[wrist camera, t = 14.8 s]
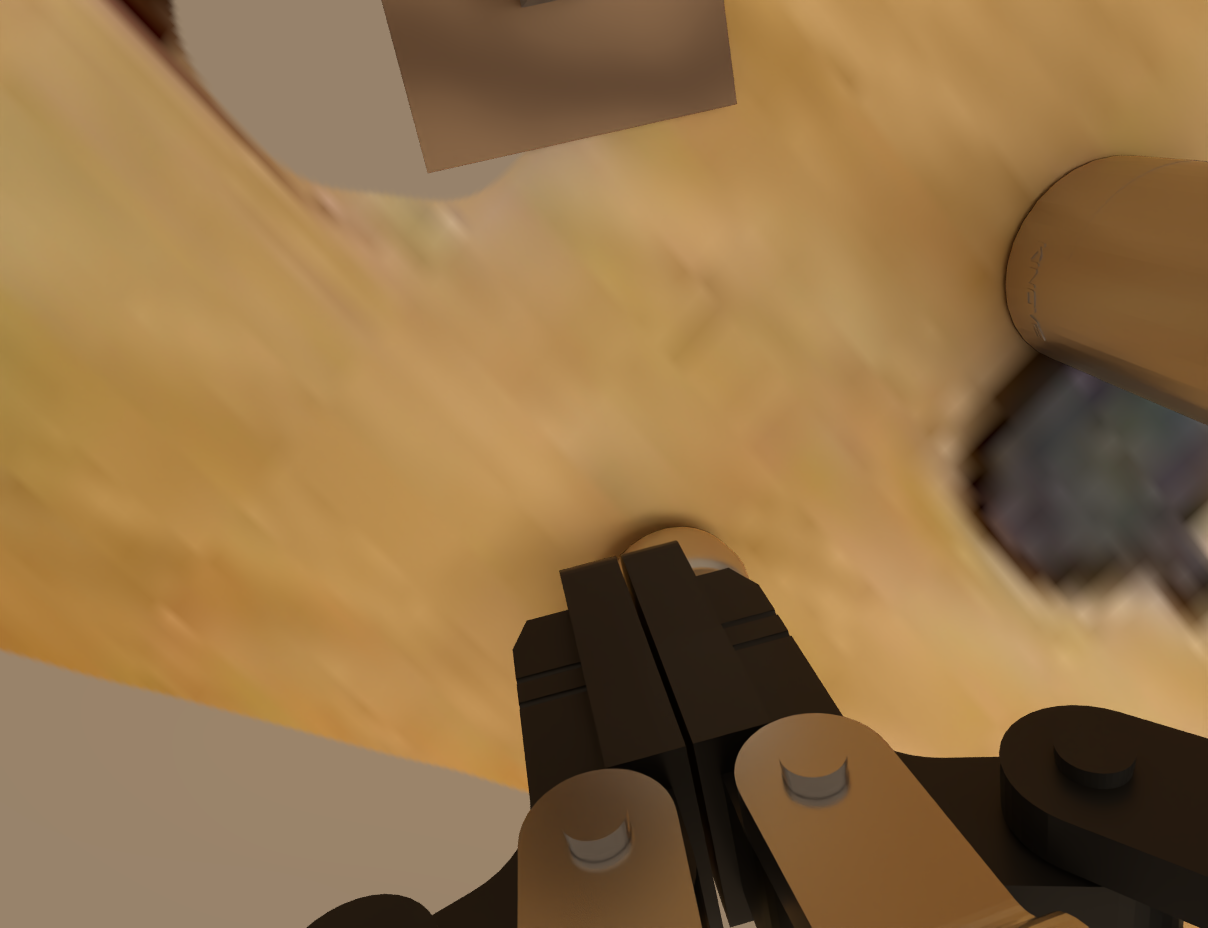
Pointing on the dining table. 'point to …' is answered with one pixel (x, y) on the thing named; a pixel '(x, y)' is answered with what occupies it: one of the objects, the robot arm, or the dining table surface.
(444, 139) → the stand board
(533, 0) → the charcoal post
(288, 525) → the dining table surface
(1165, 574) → the dining table surface
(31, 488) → the dining table surface
